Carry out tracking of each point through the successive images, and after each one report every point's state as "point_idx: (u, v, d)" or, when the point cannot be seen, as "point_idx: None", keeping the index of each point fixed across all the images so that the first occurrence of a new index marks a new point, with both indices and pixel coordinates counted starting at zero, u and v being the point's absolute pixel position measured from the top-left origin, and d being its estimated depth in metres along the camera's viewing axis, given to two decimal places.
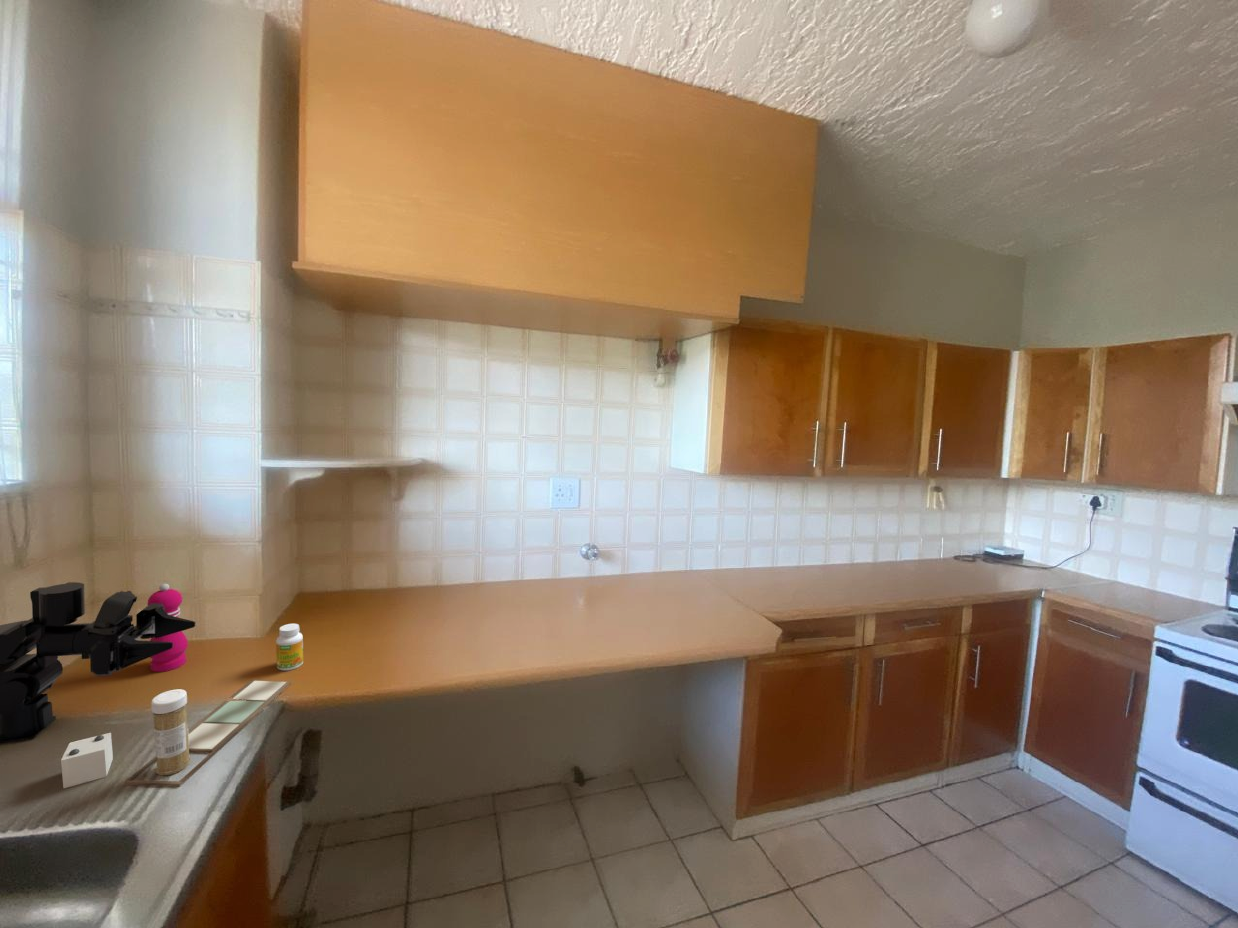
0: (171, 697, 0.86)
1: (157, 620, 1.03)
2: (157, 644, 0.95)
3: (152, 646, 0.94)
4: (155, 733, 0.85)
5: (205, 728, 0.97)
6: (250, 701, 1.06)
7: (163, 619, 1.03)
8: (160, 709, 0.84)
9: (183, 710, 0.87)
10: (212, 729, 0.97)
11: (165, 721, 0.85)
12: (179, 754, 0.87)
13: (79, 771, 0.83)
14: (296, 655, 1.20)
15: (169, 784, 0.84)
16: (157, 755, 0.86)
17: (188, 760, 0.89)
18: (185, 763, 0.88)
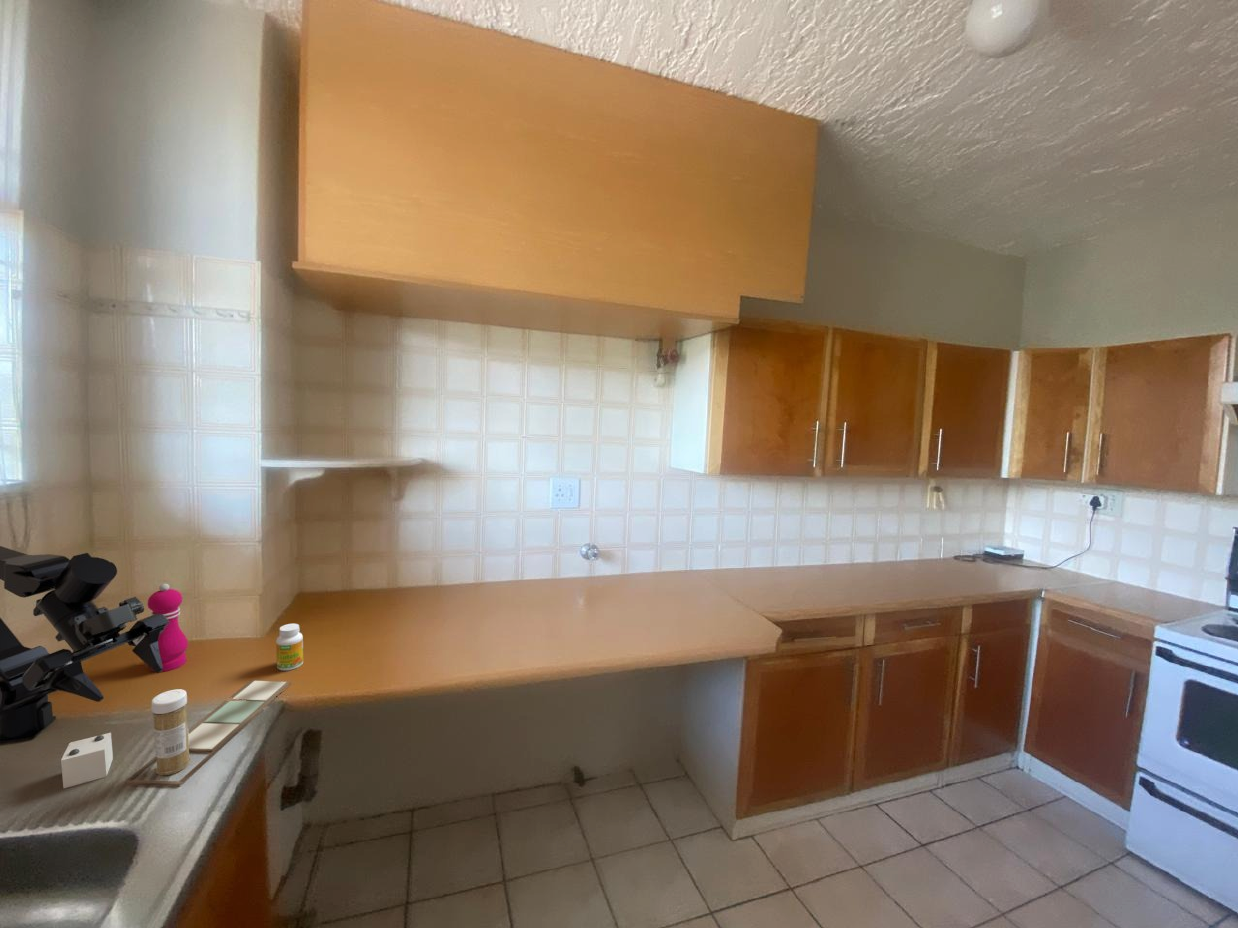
0: (171, 697, 0.86)
1: (144, 640, 0.93)
2: (90, 690, 0.83)
3: (85, 689, 0.83)
4: (155, 733, 0.85)
5: (205, 728, 0.97)
6: (250, 701, 1.06)
7: (147, 644, 0.93)
8: (160, 709, 0.84)
9: (183, 710, 0.87)
10: (212, 729, 0.97)
11: (165, 721, 0.85)
12: (179, 754, 0.87)
13: (79, 771, 0.83)
14: (296, 655, 1.20)
15: (169, 784, 0.84)
16: (157, 755, 0.86)
17: (188, 760, 0.89)
18: (185, 763, 0.88)
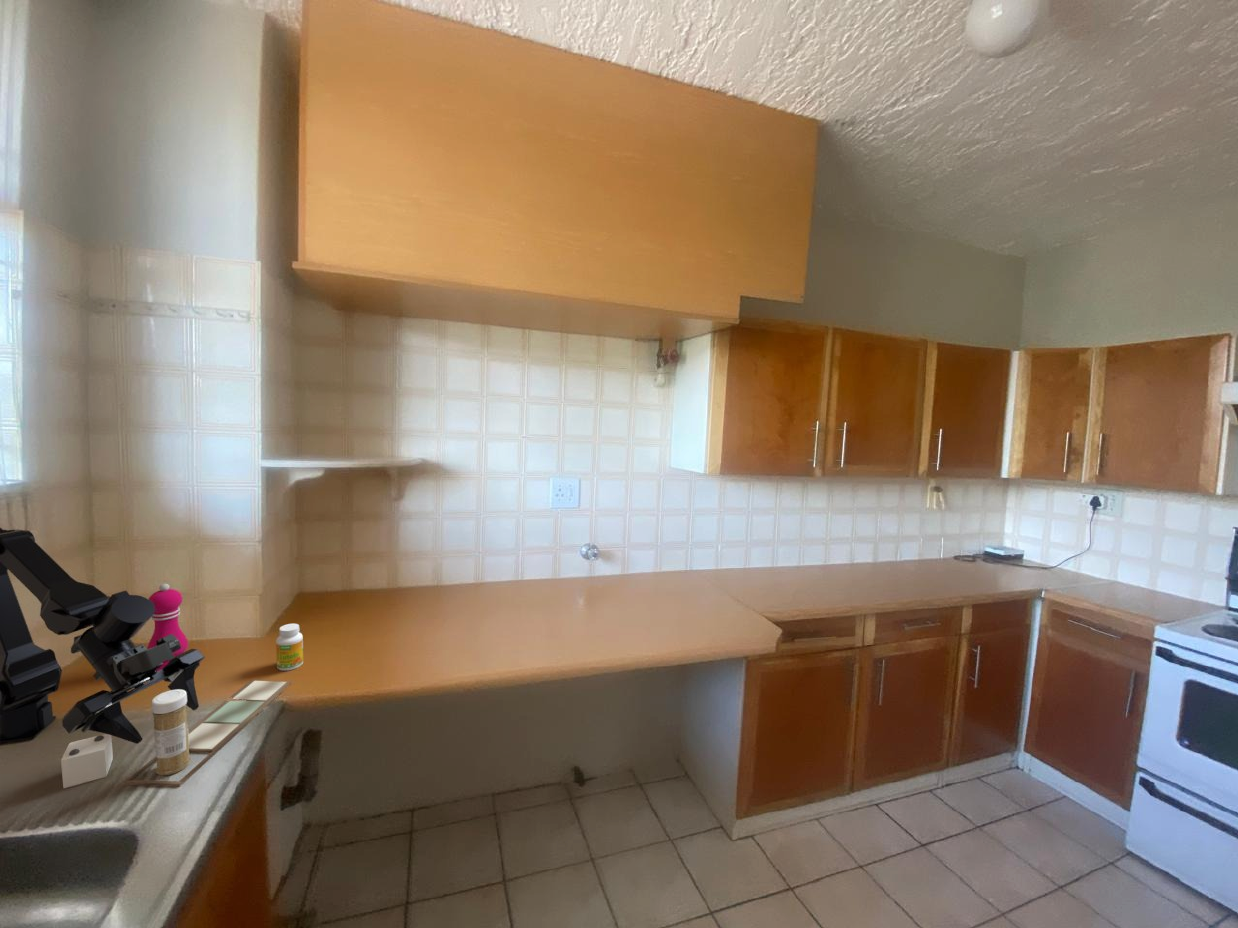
0: (171, 697, 0.86)
1: (179, 677, 0.92)
2: (129, 732, 0.82)
3: (124, 731, 0.82)
4: (155, 733, 0.85)
5: (205, 728, 0.97)
6: (250, 701, 1.06)
7: (183, 681, 0.92)
8: (160, 709, 0.84)
9: (183, 710, 0.87)
10: (212, 729, 0.97)
11: (165, 721, 0.85)
12: (179, 754, 0.87)
13: (79, 771, 0.83)
14: (296, 655, 1.20)
15: (169, 784, 0.84)
16: (157, 755, 0.86)
17: (188, 760, 0.89)
18: (185, 763, 0.88)
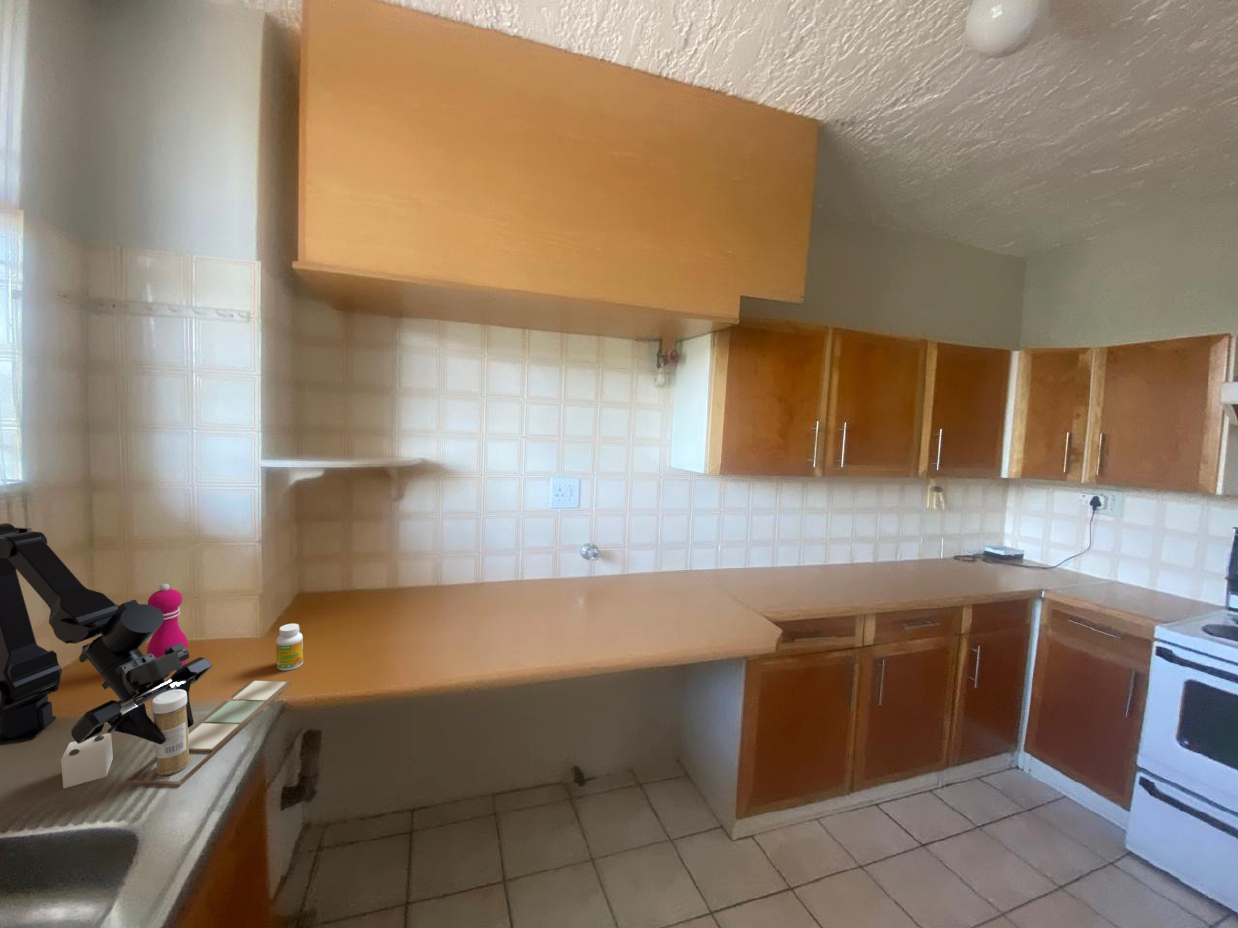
0: (171, 697, 0.86)
1: None
2: (153, 733, 0.84)
3: (148, 732, 0.84)
4: None
5: (205, 728, 0.97)
6: (250, 701, 1.06)
7: None
8: (160, 708, 0.84)
9: (183, 710, 0.87)
10: (212, 729, 0.97)
11: (165, 721, 0.85)
12: (179, 754, 0.87)
13: (79, 771, 0.83)
14: (296, 655, 1.20)
15: (169, 784, 0.84)
16: (157, 755, 0.86)
17: (188, 760, 0.89)
18: (185, 763, 0.88)
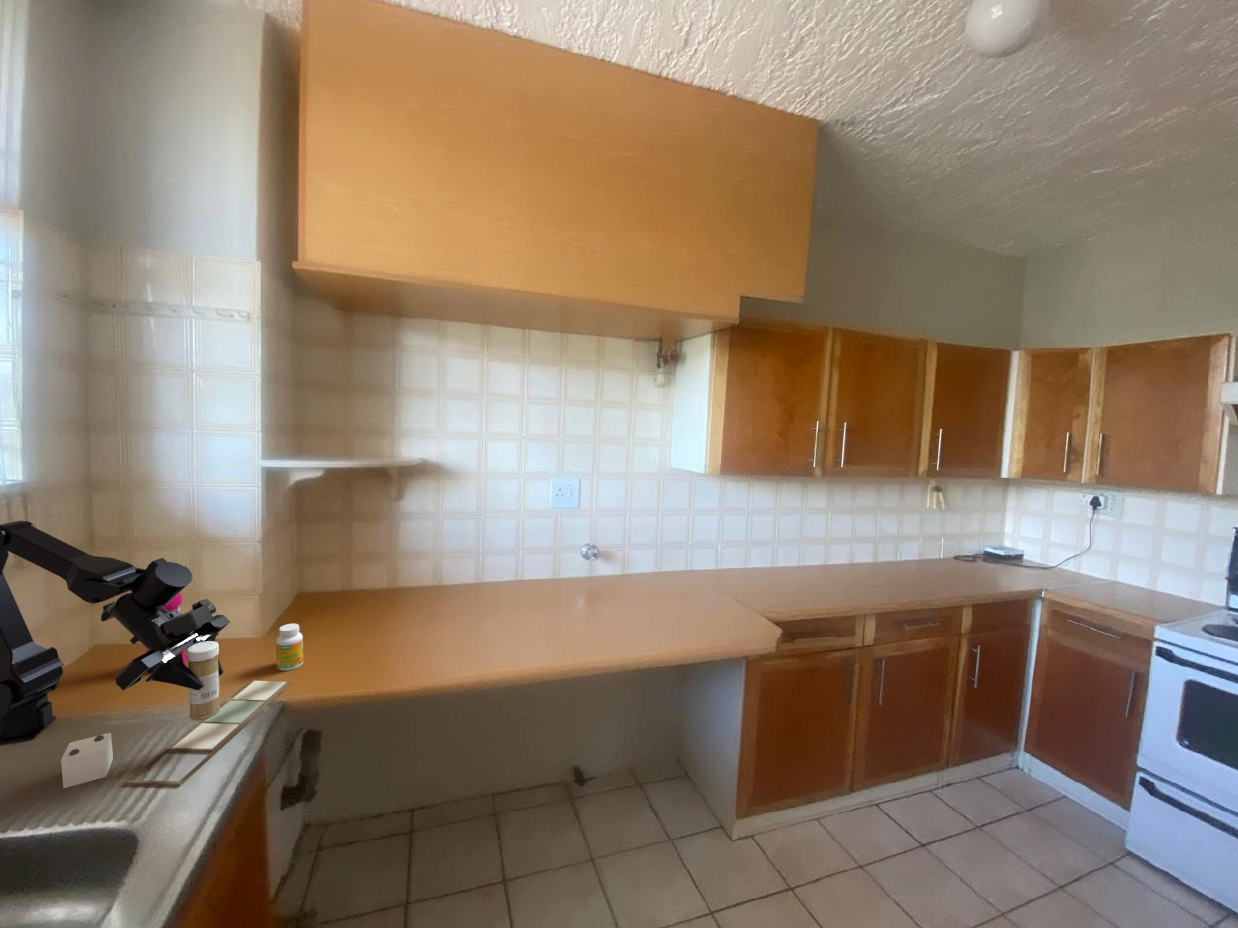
0: (205, 646, 0.92)
1: None
2: (191, 680, 0.90)
3: (187, 679, 0.90)
4: None
5: (205, 728, 0.97)
6: (250, 701, 1.06)
7: None
8: (198, 656, 0.90)
9: (217, 659, 0.93)
10: (212, 729, 0.97)
11: (202, 669, 0.91)
12: (213, 700, 0.93)
13: (79, 771, 0.83)
14: (296, 655, 1.20)
15: (169, 784, 0.84)
16: (192, 702, 0.91)
17: (219, 707, 0.95)
18: (217, 709, 0.94)
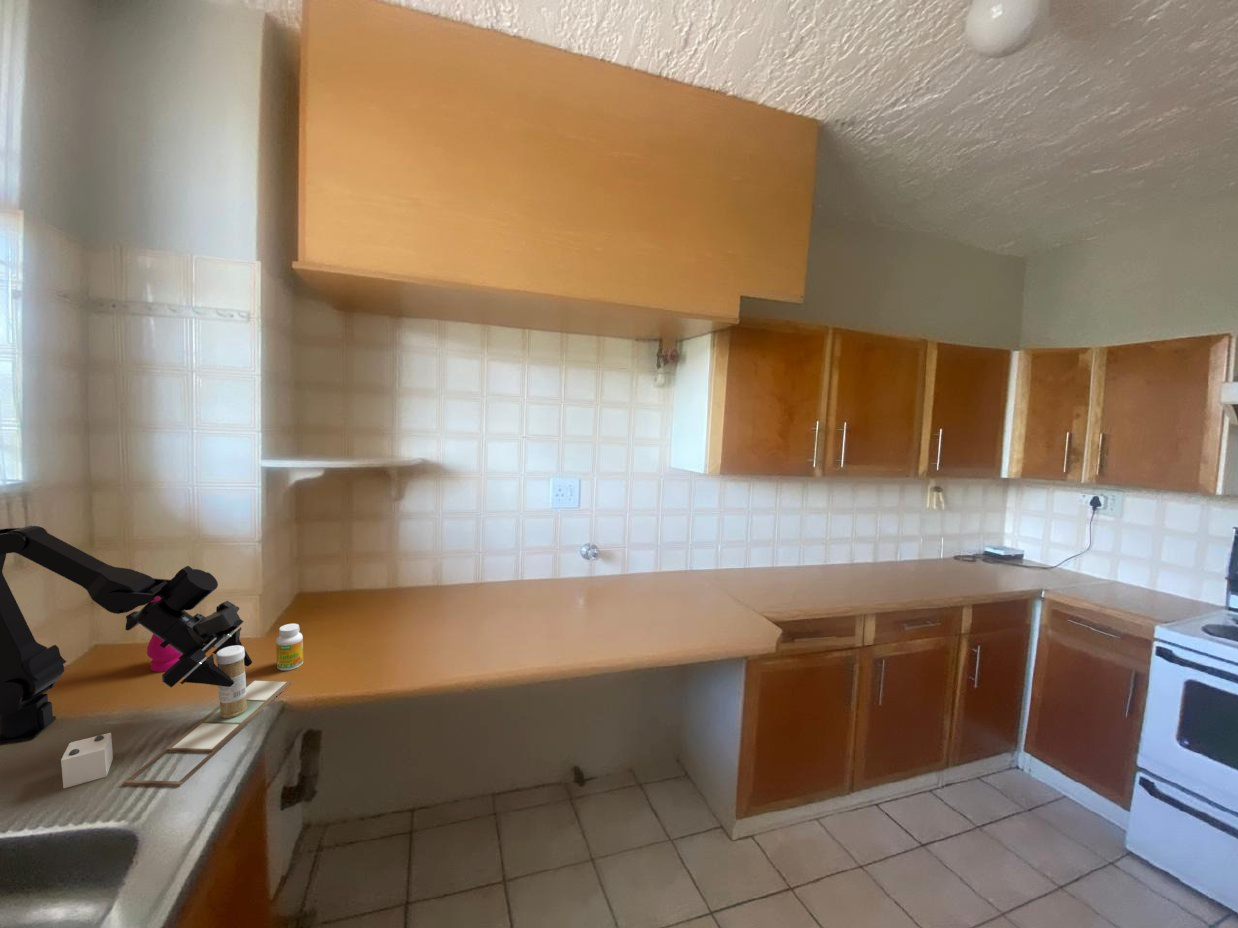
0: (233, 650, 1.01)
1: (229, 640, 1.05)
2: (224, 678, 0.97)
3: (219, 677, 0.97)
4: None
5: (205, 728, 0.97)
6: (250, 701, 1.06)
7: (233, 643, 1.05)
8: (229, 659, 0.99)
9: None
10: (212, 729, 0.97)
11: (233, 670, 1.00)
12: (243, 697, 1.02)
13: (79, 771, 0.83)
14: (296, 655, 1.20)
15: (169, 784, 0.84)
16: (225, 701, 1.00)
17: (246, 704, 1.04)
18: (246, 706, 1.03)
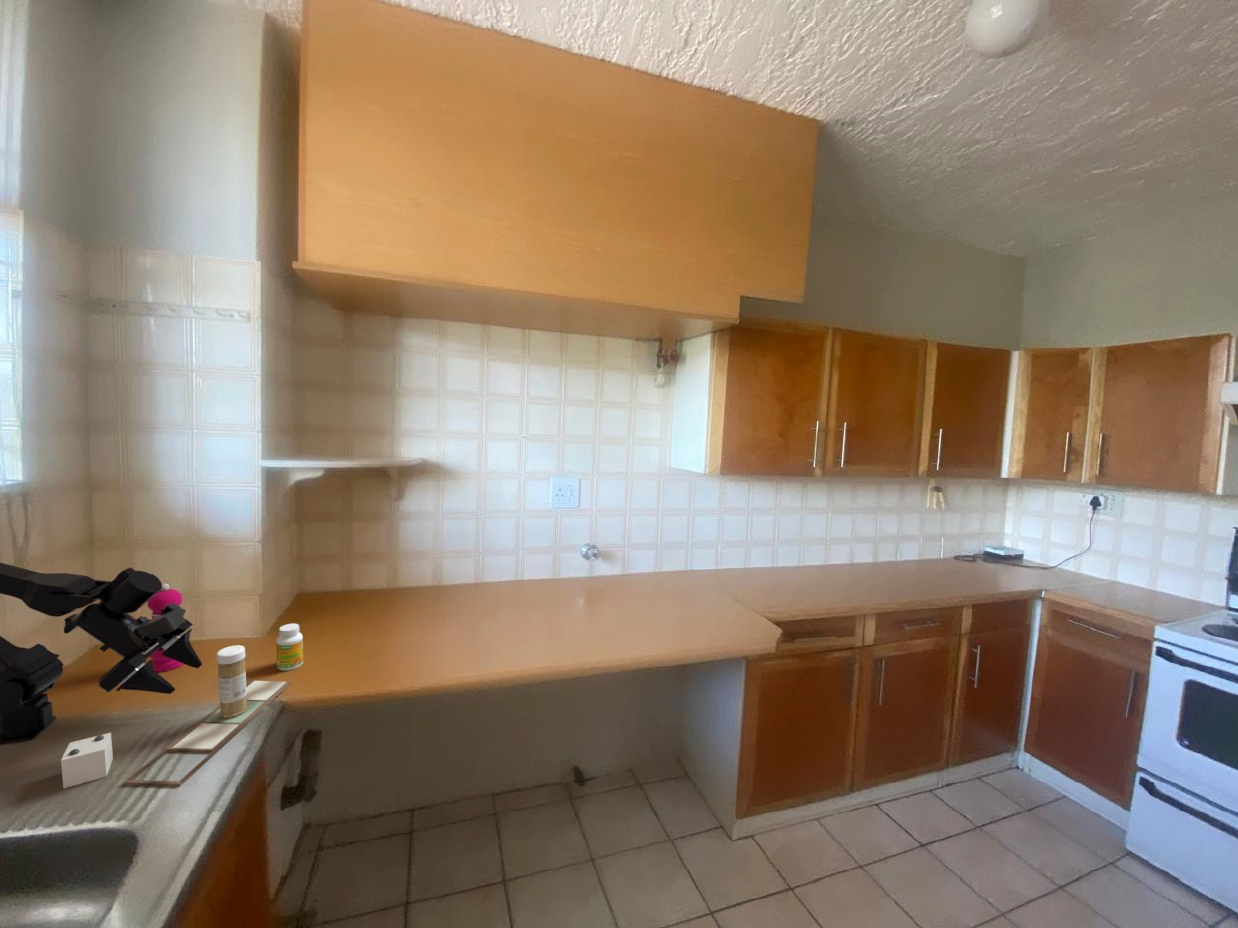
0: (234, 650, 1.01)
1: (177, 642, 1.03)
2: (163, 684, 0.94)
3: (159, 684, 0.94)
4: (223, 682, 0.99)
5: (205, 728, 0.97)
6: (250, 701, 1.06)
7: (182, 645, 1.03)
8: (230, 659, 0.99)
9: None
10: (212, 729, 0.97)
11: (233, 670, 1.00)
12: (243, 697, 1.02)
13: (79, 771, 0.83)
14: (296, 655, 1.20)
15: (169, 784, 0.84)
16: (225, 701, 1.00)
17: (246, 704, 1.04)
18: (246, 706, 1.03)
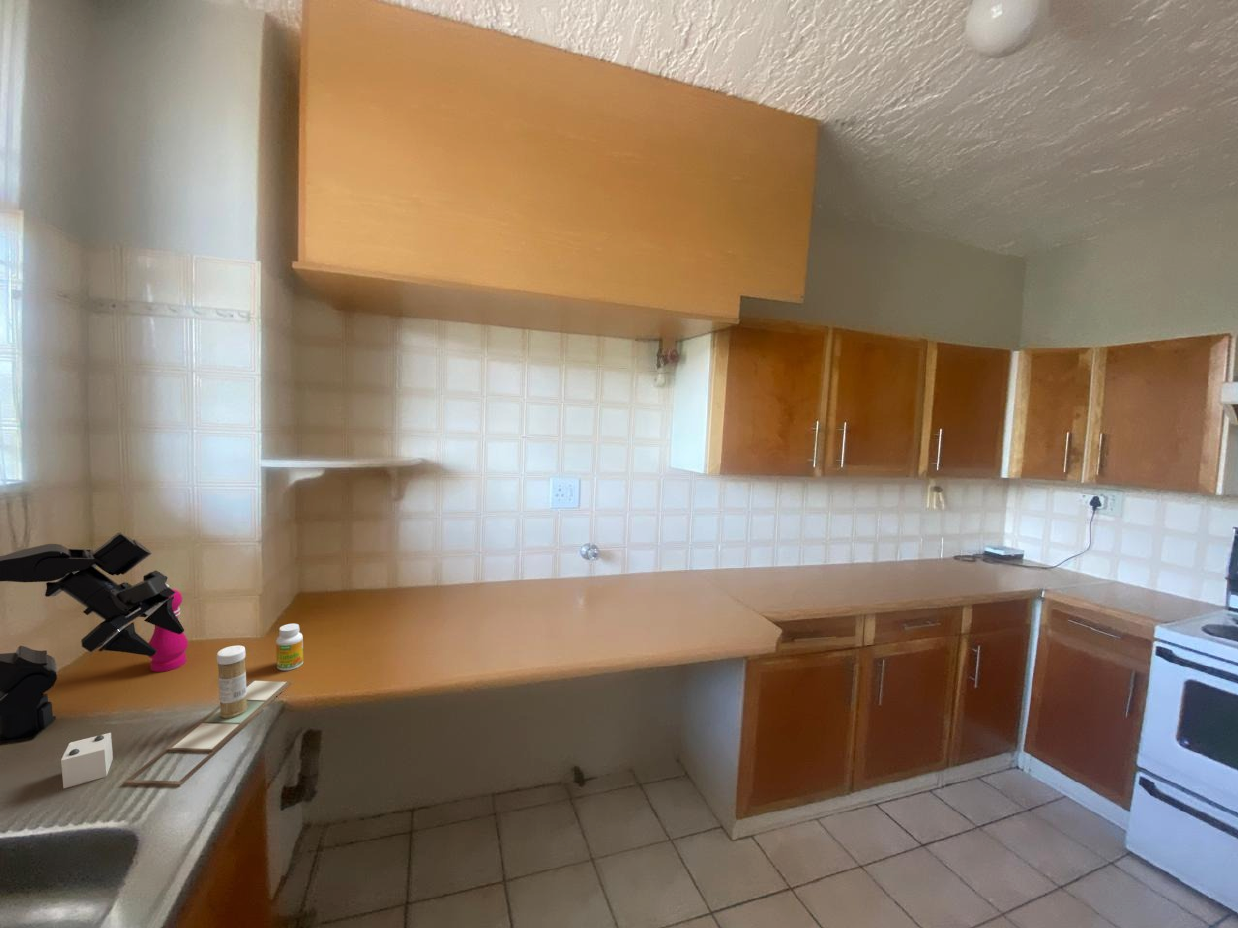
0: (234, 650, 1.01)
1: (160, 609, 1.06)
2: (145, 646, 0.97)
3: (140, 646, 0.97)
4: (223, 682, 0.99)
5: (205, 728, 0.97)
6: (250, 701, 1.06)
7: (165, 611, 1.06)
8: (230, 659, 0.99)
9: (244, 661, 1.02)
10: (212, 729, 0.97)
11: (234, 670, 1.00)
12: (243, 697, 1.02)
13: (79, 771, 0.83)
14: (296, 655, 1.20)
15: (169, 784, 0.84)
16: (225, 701, 1.00)
17: (246, 704, 1.04)
18: (246, 706, 1.03)
